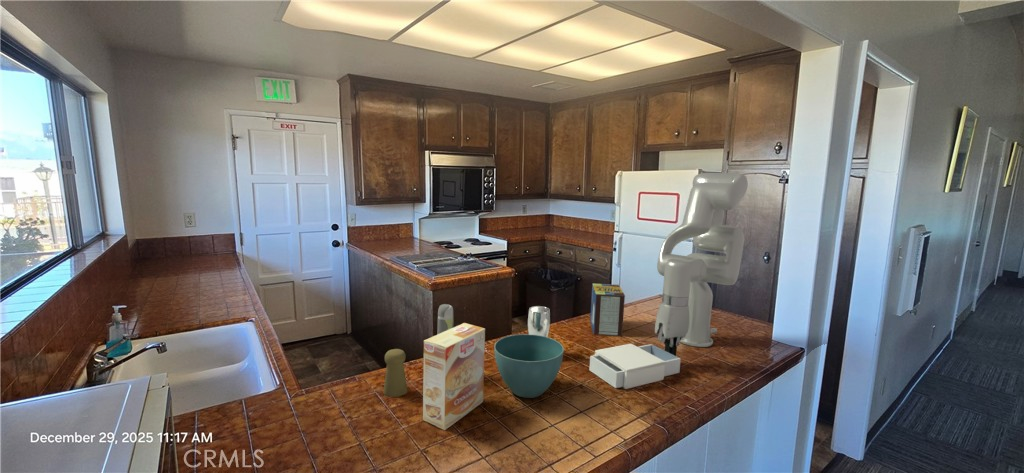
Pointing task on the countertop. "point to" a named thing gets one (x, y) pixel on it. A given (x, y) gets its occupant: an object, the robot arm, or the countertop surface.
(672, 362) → the white sliding drawer box
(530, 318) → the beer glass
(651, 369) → the sleeve
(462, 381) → the coffeecake box
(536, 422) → the countertop surface
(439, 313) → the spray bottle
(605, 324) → the protein box
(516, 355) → the teal bowl
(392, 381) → the olive green pepper shaker
